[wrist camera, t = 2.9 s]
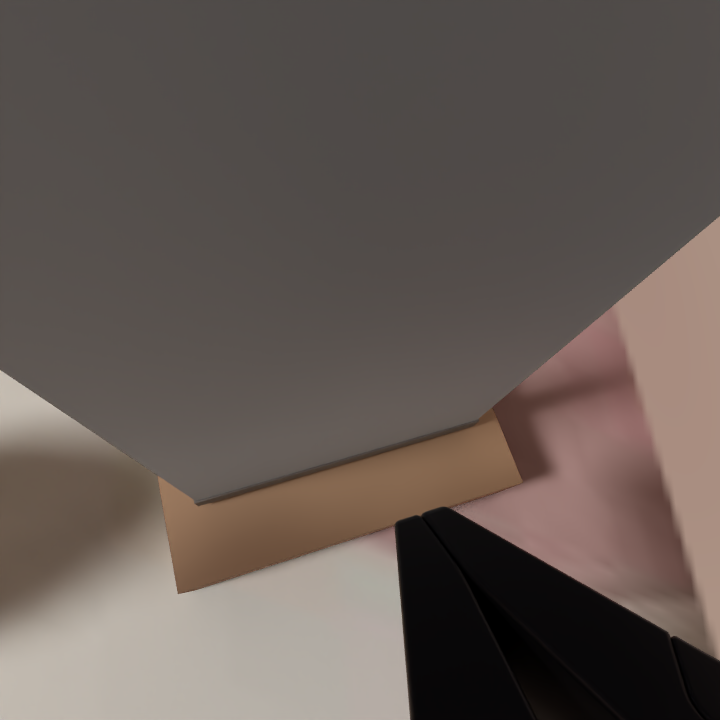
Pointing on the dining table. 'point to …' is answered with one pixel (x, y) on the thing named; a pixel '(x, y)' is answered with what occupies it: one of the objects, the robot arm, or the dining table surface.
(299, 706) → the dining table surface
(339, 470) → the ticket block
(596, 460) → the dining table surface
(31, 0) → the grey rectangular panel
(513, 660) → the robot arm
